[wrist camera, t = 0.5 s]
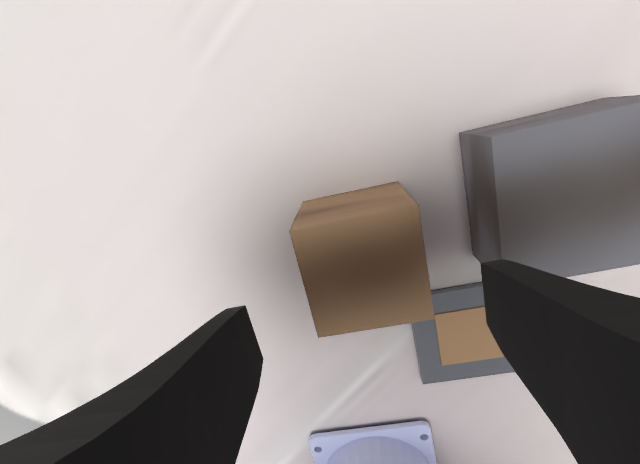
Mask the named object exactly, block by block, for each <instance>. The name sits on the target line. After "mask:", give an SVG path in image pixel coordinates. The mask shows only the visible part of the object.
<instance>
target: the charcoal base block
mask: <svg viewBox="0 0 640 464" xmlns="http://www.w3.org/2000/svg"><path fill="white" fill-rule="evenodd" d="M459 138H460V147H461V155H462V164H463V173H464V181H465V190H466V199H467V207H468V216H469V225H470V233H471V242H472V251H473V255H474V256H475V257H476V258H477V259H478V261H479V262H480V263H484V262H489V261H495V260H500V259H505V260H510V261H513V262H517V263H520V264H523V265H527V266H530V267H533V268H536V269H539V270H542V271H545V272H548V273H551V274H554V275H558V276H561V277H570V276H575V275H581V274H587V273H592V272H598V271H604V270H609V269H615V268H621V267H626V266H632V265H638V264H640V95H637V96H623V97H610V98H602V99H598V100H594V101H589V102H585V103H581V104H577V105H573V106H568V107H564V108H560V109H556V110H552V111H548V112H543V113H539V114H535V115H531V116H527V117H523V118H518V119H514V120H510V121H506V122H502V123H498V124H493V125H489V126H485V127H481V128H477V129H472V130H468V131H464V132H460V133H459Z"/></svg>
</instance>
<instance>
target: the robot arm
mask: <svg viewBox="0 0 640 464" xmlns="http://www.w3.org/2000/svg"><path fill="white" fill-rule="evenodd" d="M481 273H482V283H483V293H484V303H485V313H486V323H487V325H488V327H489V329H490V331H491V333H492V335H493V337H494V339H495V341H496V343H497V345H498V346H499V348H500V350H501V352H502V353H503V355H504V356H505V358H506V359H507V361H508V362H509V363H510V365H511V366H512V368H513V369H514V371H515V372H516V373H517V375H518V376H519V378H520V379H521V380H522V382H523V383H524V384H525V386H526V387H527V389H528V390H529V391H530V393H531V394H532V395H533V397H534V398H535V400H536V401H537V402H538V404H539V405H540V407H541V408H542V409H543V411H544V412H545V413H546V415H547V416H548V418H549V419H550V420H551V422H552V423H553V424H554V426H555V427H556V429H557V430H558V432H559V433H560V435H561V436H562V438H563V440H564V441H565V443H566V444H567V446H568V448H569V449H570V451H571V453H572V454H573V456H574V458H575V459H576V461H577V463H578V464H640V298H637V297H633V296H629V295H625V294H621V293H617V292H613V291H609V290H606V289H602V288H598V287H594V286H591V285H587V284H584V283H580V282H577V281H574V280H570V279H567V278H564V277H561V276H558V275H554V274H551V273H548V272H545V271H542V270H539V269H536V268H533V267H530V266H527V265H523V264H520V263H517V262H513V261H510V260H505V259H500V260H495V261H489V262H484V263H481ZM262 364H263V357H262V354H261V351H260V348H259V345H258V342H257V339H256V336H255V333H254V330H253V327H252V324H251V321H250V318H249V315H248V312H247V309H246V306H240V307H234V308H228V309H226V310H224V311H222V312H221V313H219V314H218V315H216V316H215V317H213V318H212V319H211V320H209V321H208V322H207V323H205V324H204V325H203V326H201V327H200V328H199V329H197V330H196V331H195V332H193V333H192V334H191V335H189V336H188V337H187V338H185V339H184V340H183V341H181V342H180V343H179V344H178V345H176V346H175V347H173V348H172V349H171V350H169V351H168V352H166V353H165V354H164V355H162V356H161V357H159V358H158V359H157V360H155V361H154V362H152V363H151V364H150V365H148V366H147V367H145V368H144V369H142V370H141V371H139V372H138V373H136V374H135V375H133V376H132V377H130V378H129V379H127V380H125V381H124V382H122V383H120V384H119V385H117V386H116V387H114V388H112V389H111V390H109V391H107V392H106V393H104V394H102V395H100V396H99V397H97V398H95V399H93V400H91V401H89V402H87V403H86V404H84V405H82V406H80V407H78V408H76V409H74V410H73V411H71V412H69V413H67V414H65V415H63V416H61V417H60V418H58V419H56V420H54V421H52V422H50V423H47V424H45V425H43V426H41V427H39V428H37V429H35V430H33V431H31V432H29V433H27V434H24V435H22V436H20V437H18V438H16V439H13V440H11V441H9V442H7V443H5V444H2V445H0V464H235V462H236V459H237V456H238V453H239V450H240V446H241V443H242V440H243V437H244V434H245V431H246V427H247V424H248V421H249V418H250V415H251V412H252V408H253V405H254V402H255V399H256V395H257V392H258V388H259V383H260V377H261V371H262ZM422 434H425V435H422ZM309 446H310V449H311V452H312V455H313V459H314V462H315V464H437V462H436V457H435V451H434V445H433V439H432V433H431V428H430V425H429V423H428V422H426V421H414V422H406V423H398V424H390V425H381V426H373V427H365V428H357V429H349V430H340V431H332V432H324V433H316V434H312V435H311V436H310V437H309Z"/></svg>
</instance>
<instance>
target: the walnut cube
mask: <svg viewBox="0 0 640 464" xmlns="http://www.w3.org/2000/svg"><path fill="white" fill-rule="evenodd" d="M289 232H290V235H291V239H292V243H293V246H294V250H295V254H296V257H297V261H298V265H299V269H300V272H301V276H302V280H303V283H304V287H305V291H306V294H307V298H308V302H309V305H310V309H311V313H312V316H313V320H314V324H315V328H316V331H317V335H318V338H319V337H325V336H332V335H338V334H344V333H350V332H357V331H363V330H369V329H376V328H382V327H388V326H394V325H401V324H407V323H413V322H420V321H426V320H432V319H435V317H434V310H433V303H432V296H431V289H430V282H429V276H428V269H427V262H426V255H425V248H424V241H423V235H422V228H421V221H420V214H419V207H418V204H417V203H416V202H415V201H414V200H413V198H412V197H411V196H410V195H409V194H408V193H407V191H406V190H405V189H404V188H403V187H402V186H401V185H400V183H399V182H398V181H397V182H393V183H388V184H383V185H379V186H374V187H369V188H365V189H360V190H355V191H351V192H346V193H341V194H336V195H332V196H327V197H322V198H318V199H313V200H308V201H304V202H303V203H302V205H301V207H300V209H299V211H298V213H297V216H296V218H295V220H294V222H293V224H292V226H291V228H290V231H289Z"/></svg>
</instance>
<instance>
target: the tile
mask: <svg viewBox="0 0 640 464" xmlns="http://www.w3.org/2000/svg"><path fill="white" fill-rule="evenodd" d="M431 296H432V303H433V310H434V317H435V319H432V320H426V321H420V322H413V323H412V326H413V332H414V338H415V344H416V350H417V356H418V362H419V367H420V373H421V379H422V383H423V384H428V383H436V382H443V381H450V380H458V379H465V378H473V377H480V376H487V375H495V374H502V373H509V372H515V371H514V369H513V368H512V366H511V365H510V363H509V362H508V361H507V359H506V358H505V356H504V355H503V353H502V352H501V350H500V348H499V346H498V345H497V343H496V341H495V339H494V337H493V335H492V333H491V331H490V329H489V327H488V325H487V323H486V313H485V303H484V293H483V283H482V282H480V283H474V284H468V285H462V286H457V287H451V288H445V289H439V290H433V291H431Z"/></svg>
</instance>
